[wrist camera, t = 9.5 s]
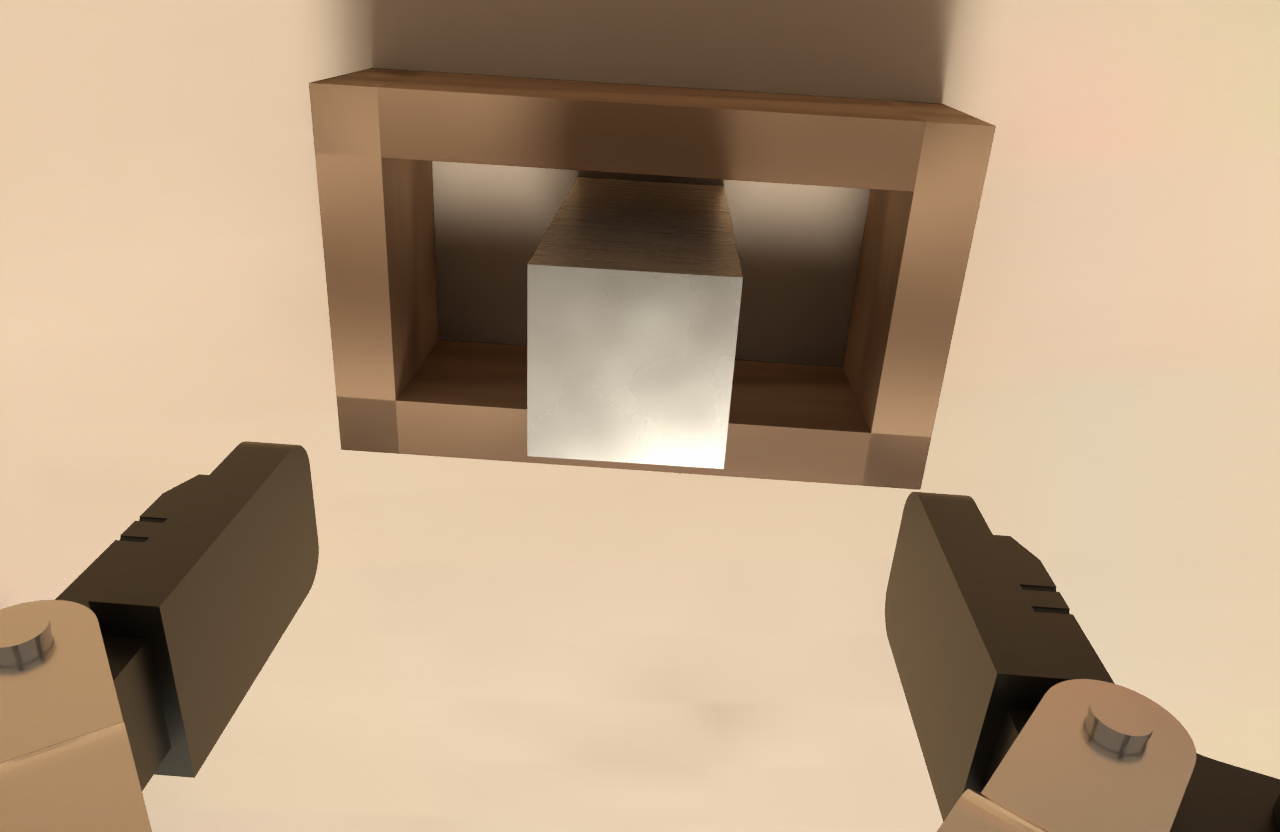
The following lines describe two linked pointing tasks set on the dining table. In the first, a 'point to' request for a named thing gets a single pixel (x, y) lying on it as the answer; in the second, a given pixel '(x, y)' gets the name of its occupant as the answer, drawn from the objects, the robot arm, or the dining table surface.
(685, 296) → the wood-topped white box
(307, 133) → the dining table surface
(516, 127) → the rectangular wooden frame
